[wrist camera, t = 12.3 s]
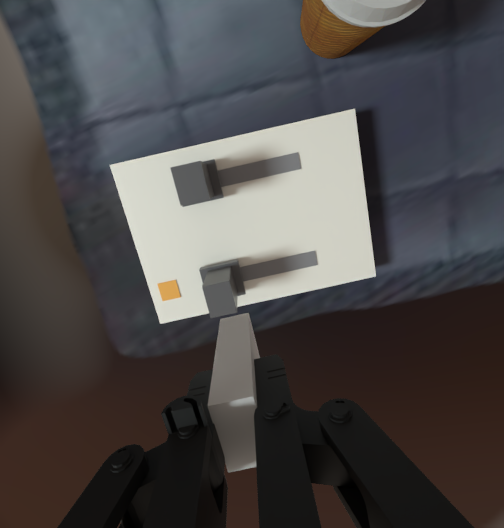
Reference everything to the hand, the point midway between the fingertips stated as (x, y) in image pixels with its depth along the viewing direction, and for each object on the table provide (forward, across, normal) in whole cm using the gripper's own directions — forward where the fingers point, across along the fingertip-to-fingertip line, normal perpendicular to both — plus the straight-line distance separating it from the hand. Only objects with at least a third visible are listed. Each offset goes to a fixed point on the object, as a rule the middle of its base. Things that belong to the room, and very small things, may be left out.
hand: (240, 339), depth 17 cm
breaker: (+17, -2, +8) cm, 19 cm away
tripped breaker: (+17, -2, -2) cm, 17 cm away
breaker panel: (+20, +2, +3) cm, 21 cm away
